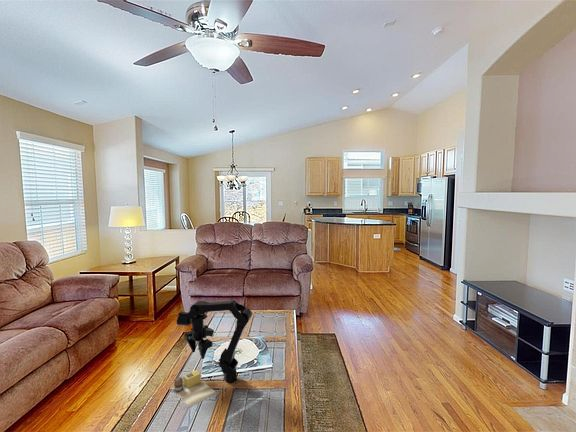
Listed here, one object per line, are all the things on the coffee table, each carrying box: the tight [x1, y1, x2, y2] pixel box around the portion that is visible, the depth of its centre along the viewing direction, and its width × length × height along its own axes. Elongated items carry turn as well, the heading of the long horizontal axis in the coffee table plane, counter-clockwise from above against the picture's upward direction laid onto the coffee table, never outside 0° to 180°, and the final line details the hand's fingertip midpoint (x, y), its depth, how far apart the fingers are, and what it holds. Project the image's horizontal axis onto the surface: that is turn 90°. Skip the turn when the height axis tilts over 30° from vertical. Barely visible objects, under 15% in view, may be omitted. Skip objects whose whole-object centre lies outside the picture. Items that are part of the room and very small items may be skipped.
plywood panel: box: [169, 379, 217, 408], centre depth 152 cm, size 20×14×1 cm
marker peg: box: [173, 376, 183, 393], centre depth 152 cm, size 4×4×5 cm
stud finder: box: [182, 369, 202, 388], centre depth 157 cm, size 4×7×5 cm, turn 134°
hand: (198, 355), depth 162 cm, fingers open, 9 cm apart
